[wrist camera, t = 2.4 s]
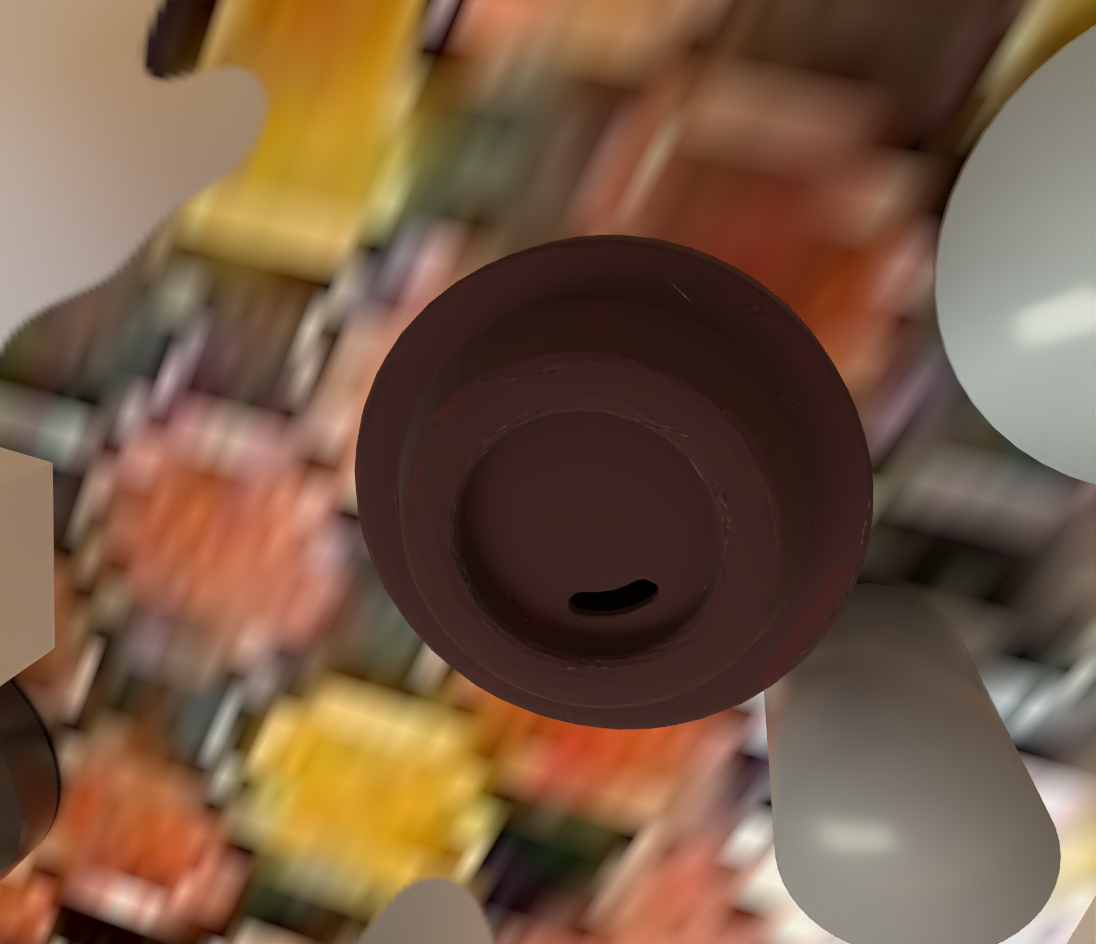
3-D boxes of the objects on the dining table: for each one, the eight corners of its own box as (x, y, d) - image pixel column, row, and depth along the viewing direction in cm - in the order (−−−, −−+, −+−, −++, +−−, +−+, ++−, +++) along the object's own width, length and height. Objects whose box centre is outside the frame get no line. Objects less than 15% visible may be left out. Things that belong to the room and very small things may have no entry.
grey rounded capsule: (739, 720, 32) (742, 909, 24) (796, 560, 30) (822, 709, 21) (925, 775, 31) (996, 991, 23) (999, 615, 29) (1109, 793, 21)
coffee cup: (553, 173, 27) (368, 169, 13) (857, 261, 26) (1002, 357, 12) (482, 452, 31) (279, 680, 17) (747, 539, 30) (763, 855, 16)
